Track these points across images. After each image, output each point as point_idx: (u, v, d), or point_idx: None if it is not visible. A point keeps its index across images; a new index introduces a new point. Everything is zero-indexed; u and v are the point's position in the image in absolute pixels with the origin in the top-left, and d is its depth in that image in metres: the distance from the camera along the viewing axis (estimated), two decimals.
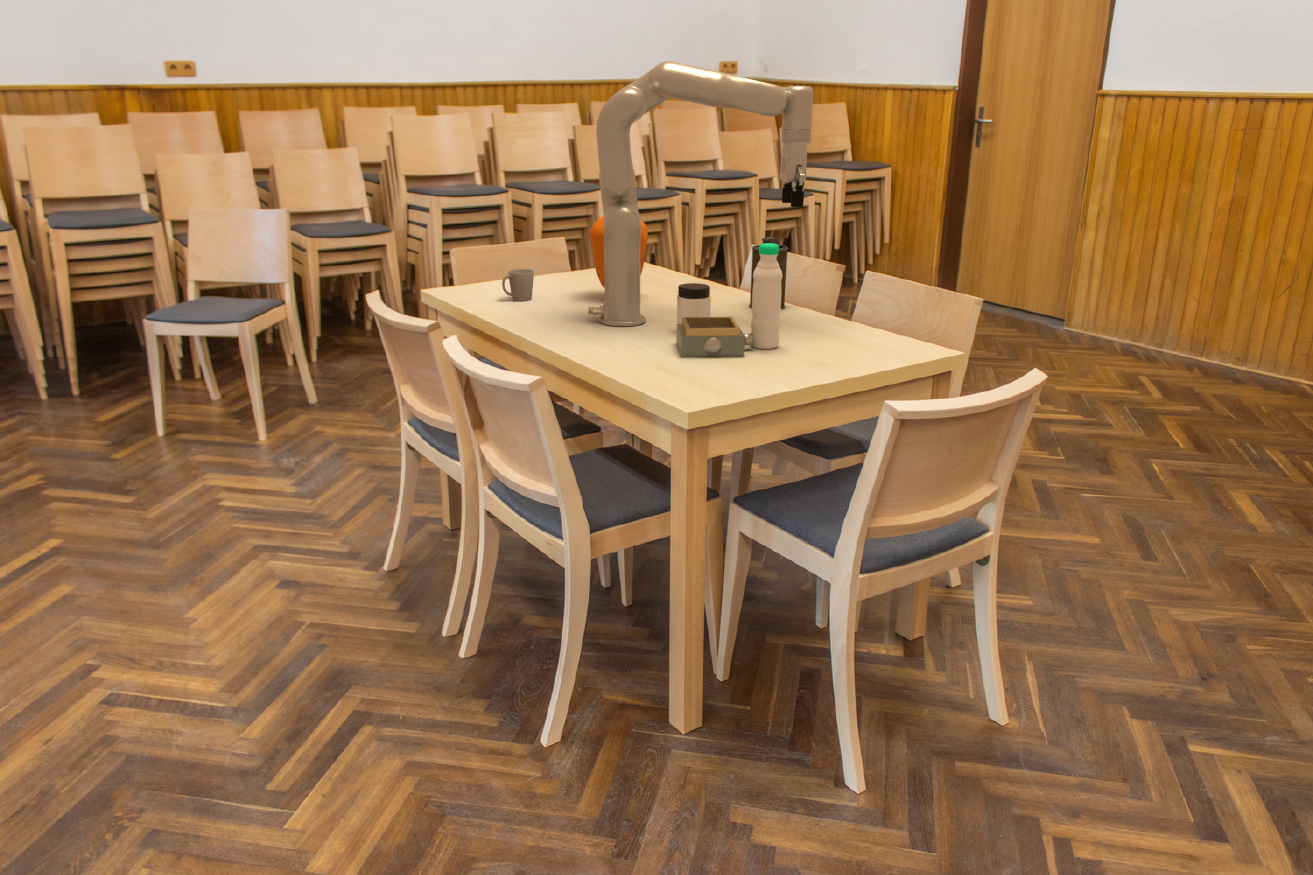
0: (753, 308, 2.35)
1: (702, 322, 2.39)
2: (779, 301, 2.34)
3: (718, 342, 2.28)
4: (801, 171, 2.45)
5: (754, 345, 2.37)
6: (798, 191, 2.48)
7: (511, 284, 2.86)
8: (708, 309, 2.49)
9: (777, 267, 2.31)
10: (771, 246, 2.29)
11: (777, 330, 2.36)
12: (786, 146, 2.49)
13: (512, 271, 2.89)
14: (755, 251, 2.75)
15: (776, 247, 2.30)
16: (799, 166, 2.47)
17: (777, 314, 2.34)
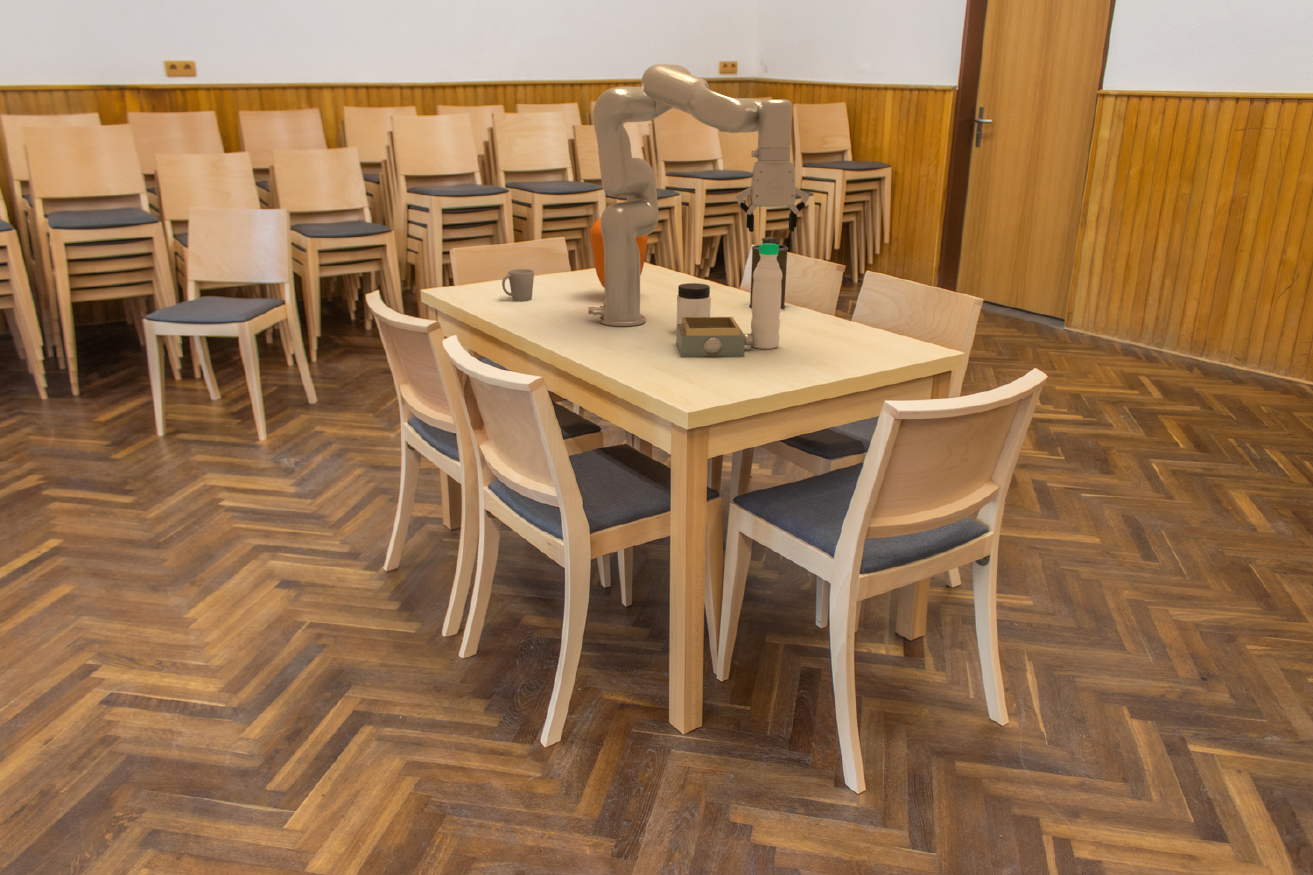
0: (753, 308, 2.35)
1: (702, 322, 2.39)
2: (779, 301, 2.34)
3: (718, 342, 2.28)
4: (802, 191, 2.27)
5: (754, 345, 2.37)
6: None
7: (511, 284, 2.86)
8: (708, 309, 2.49)
9: (777, 267, 2.31)
10: (771, 246, 2.29)
11: (777, 330, 2.36)
12: (780, 166, 2.22)
13: (512, 271, 2.89)
14: (755, 251, 2.75)
15: (776, 247, 2.30)
16: None
17: (777, 314, 2.34)
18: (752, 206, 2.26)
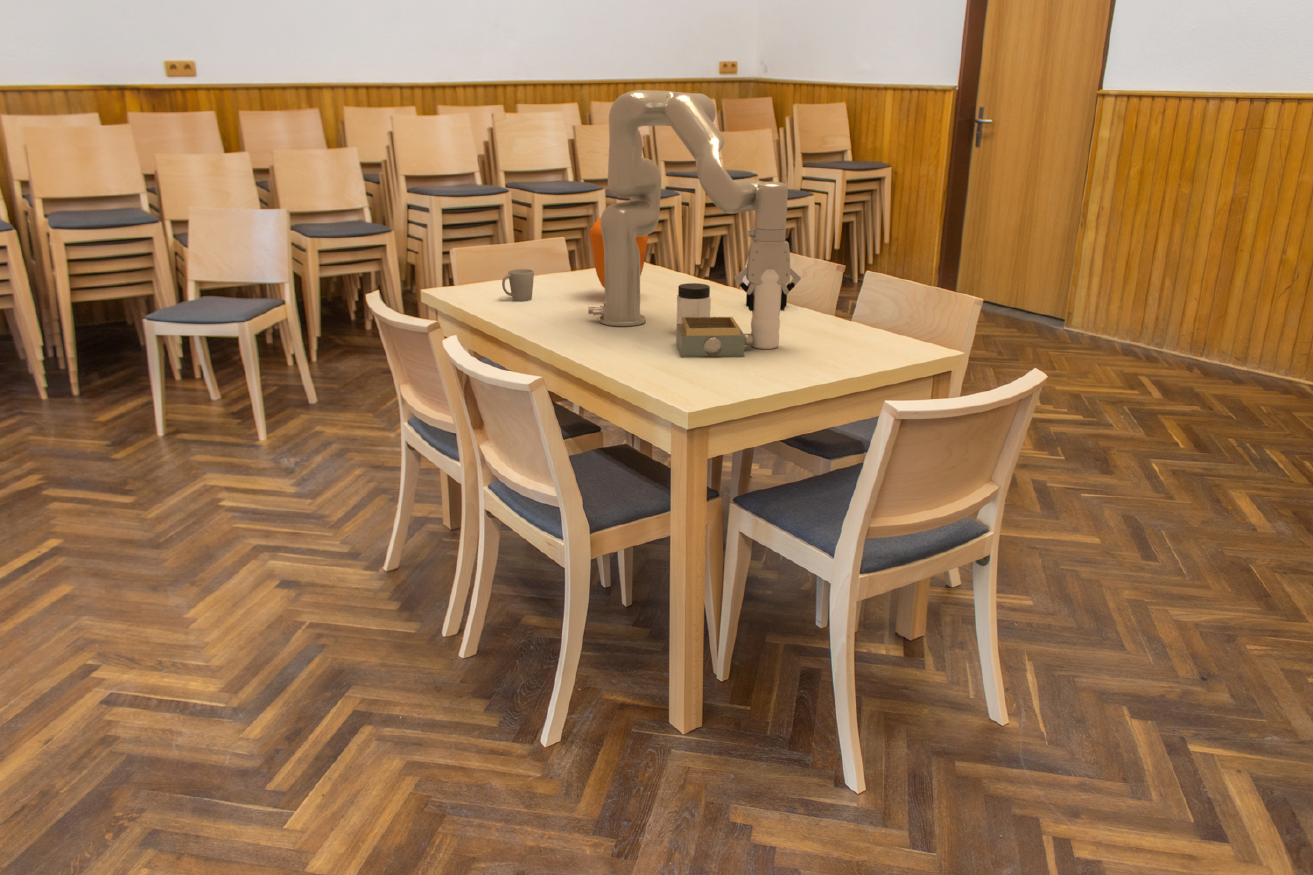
0: (753, 308, 2.35)
1: (702, 322, 2.39)
2: (779, 301, 2.34)
3: (718, 342, 2.28)
4: None
5: (754, 345, 2.37)
6: None
7: (511, 284, 2.86)
8: (708, 309, 2.49)
9: None
10: None
11: (777, 330, 2.36)
12: (776, 247, 2.29)
13: (512, 271, 2.89)
14: None
15: None
16: None
17: (777, 314, 2.34)
18: (751, 286, 2.33)
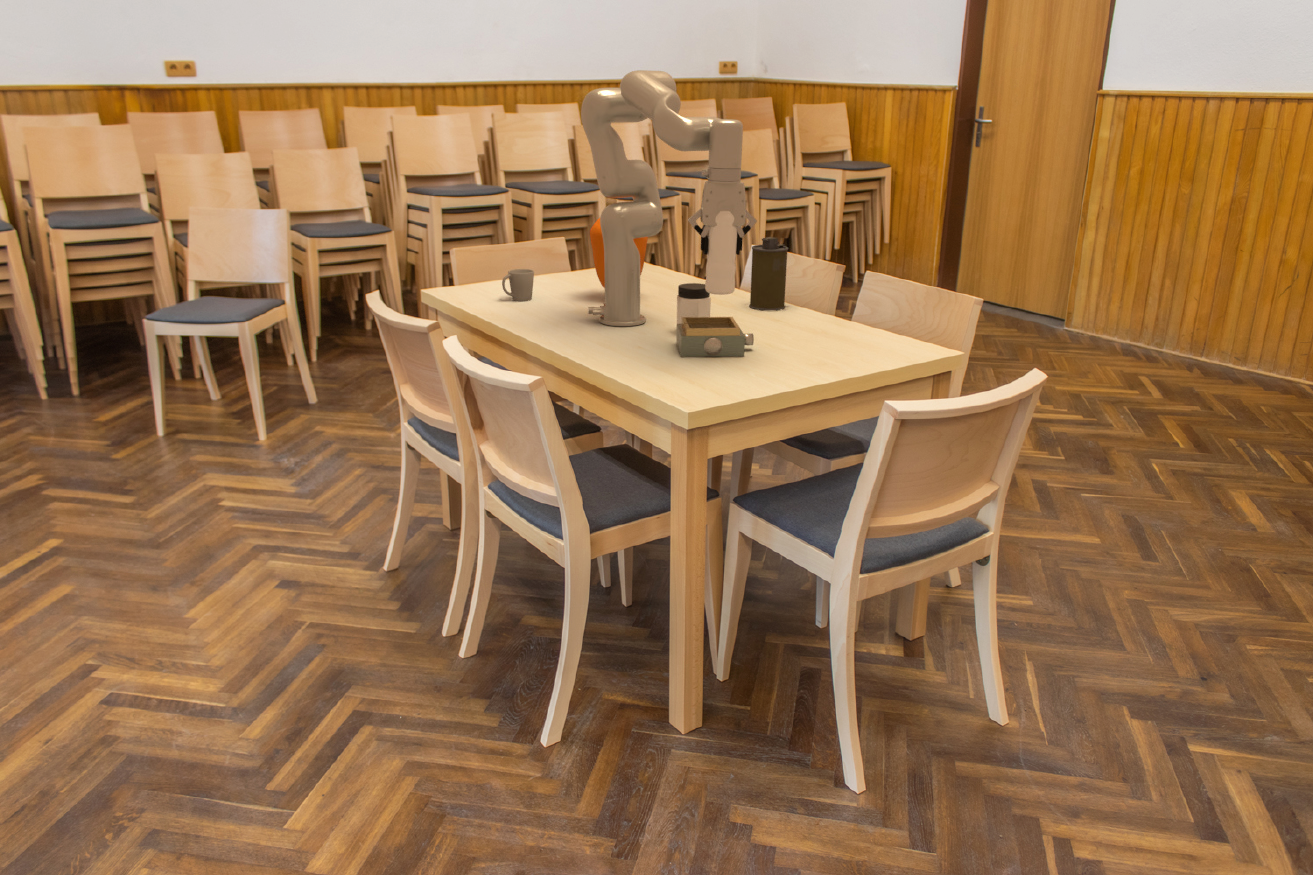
0: (708, 252, 2.27)
1: (702, 322, 2.39)
2: (735, 244, 2.26)
3: (718, 342, 2.28)
4: (751, 215, 2.26)
5: (709, 290, 2.29)
6: None
7: (511, 284, 2.86)
8: (708, 309, 2.49)
9: None
10: None
11: (733, 275, 2.28)
12: (730, 187, 2.21)
13: (512, 271, 2.89)
14: (755, 251, 2.75)
15: None
16: None
17: (733, 258, 2.27)
18: (705, 228, 2.25)
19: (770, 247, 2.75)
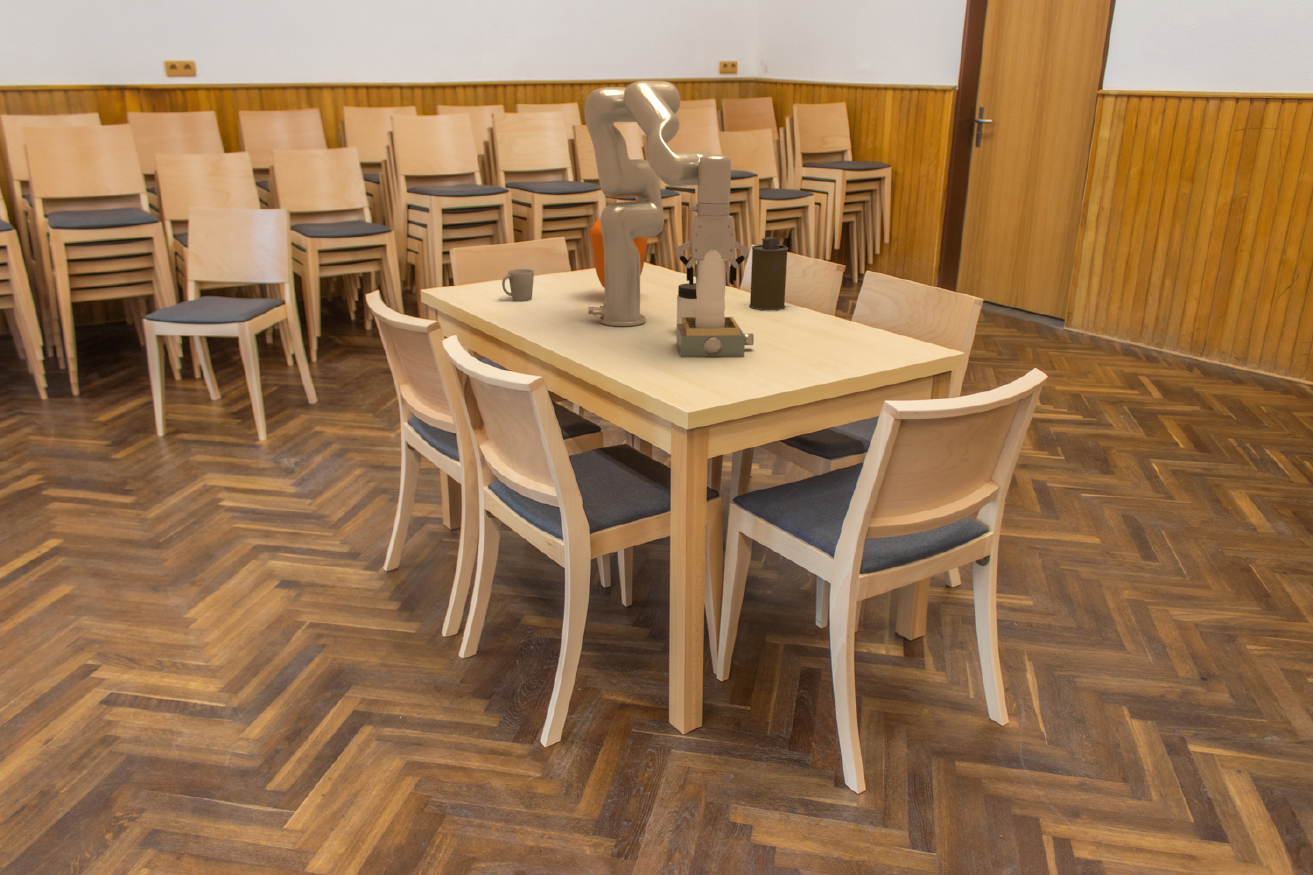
0: (697, 289, 2.29)
1: None
2: (723, 282, 2.28)
3: (718, 342, 2.28)
4: (742, 245, 2.28)
5: (699, 327, 2.32)
6: None
7: (511, 284, 2.86)
8: None
9: None
10: None
11: (722, 312, 2.31)
12: (719, 221, 2.23)
13: (512, 271, 2.89)
14: (755, 251, 2.75)
15: None
16: None
17: (721, 295, 2.29)
18: (692, 260, 2.27)
19: (770, 247, 2.75)
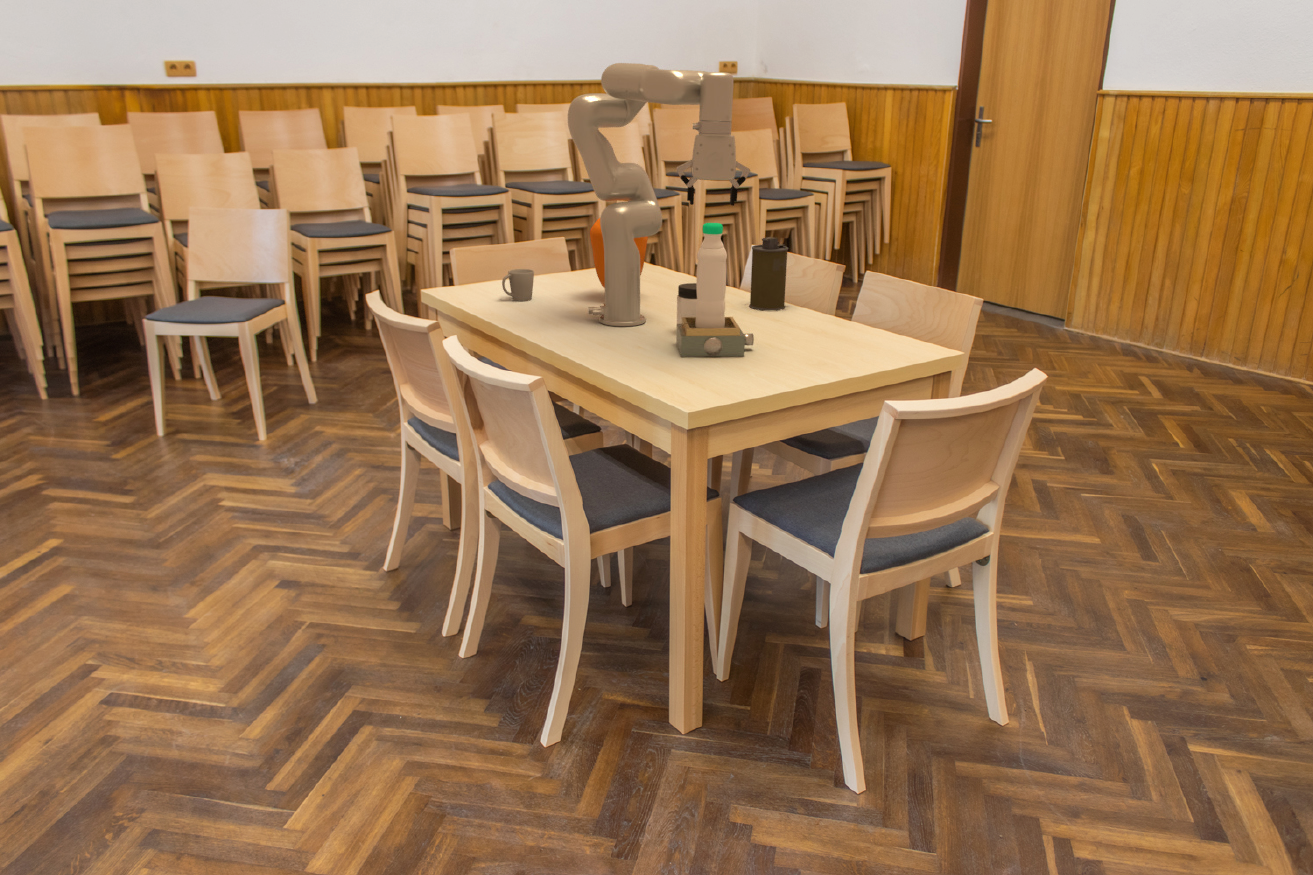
0: (697, 289, 2.29)
1: None
2: (724, 282, 2.28)
3: (718, 342, 2.28)
4: None
5: (699, 327, 2.32)
6: None
7: (511, 284, 2.86)
8: None
9: (721, 247, 2.26)
10: (714, 226, 2.24)
11: (722, 312, 2.31)
12: (720, 140, 2.23)
13: (512, 271, 2.89)
14: (755, 251, 2.75)
15: (720, 226, 2.24)
16: None
17: (722, 295, 2.29)
18: (692, 179, 2.27)
19: (770, 247, 2.75)
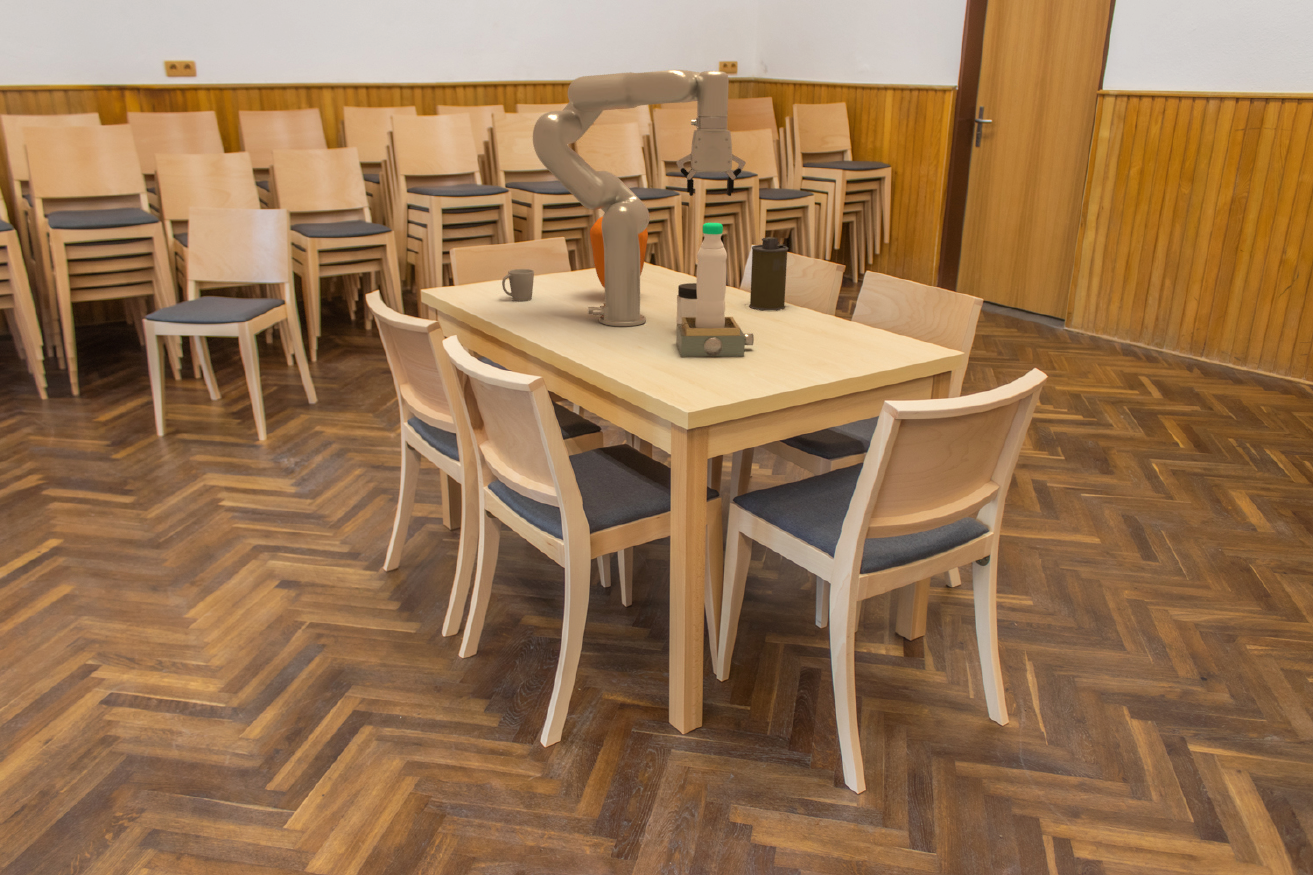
0: (697, 289, 2.29)
1: None
2: (724, 282, 2.28)
3: (718, 342, 2.28)
4: (739, 158, 2.43)
5: (699, 327, 2.32)
6: None
7: (511, 284, 2.86)
8: None
9: (721, 247, 2.26)
10: (714, 226, 2.24)
11: (722, 312, 2.31)
12: (717, 134, 2.38)
13: (512, 271, 2.89)
14: (755, 251, 2.75)
15: (720, 226, 2.24)
16: (731, 153, 2.43)
17: (722, 295, 2.29)
18: (692, 171, 2.42)
19: (770, 247, 2.75)
